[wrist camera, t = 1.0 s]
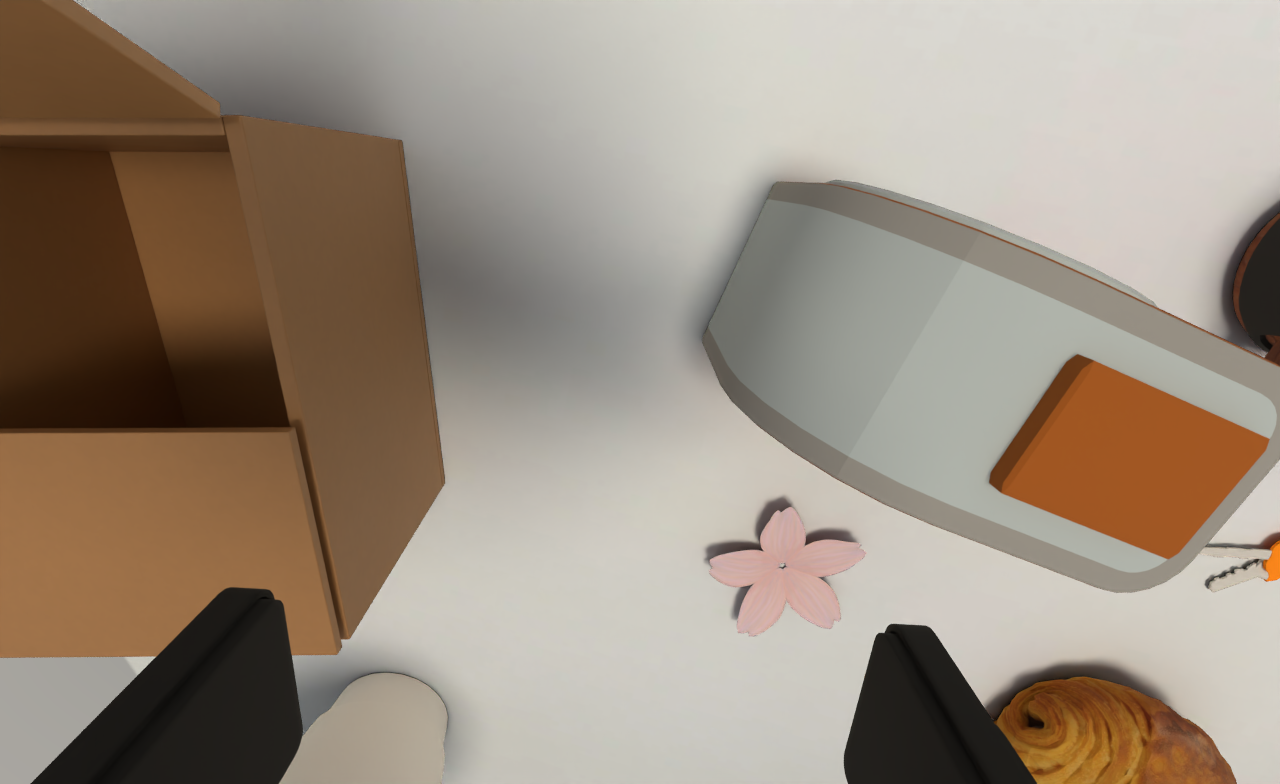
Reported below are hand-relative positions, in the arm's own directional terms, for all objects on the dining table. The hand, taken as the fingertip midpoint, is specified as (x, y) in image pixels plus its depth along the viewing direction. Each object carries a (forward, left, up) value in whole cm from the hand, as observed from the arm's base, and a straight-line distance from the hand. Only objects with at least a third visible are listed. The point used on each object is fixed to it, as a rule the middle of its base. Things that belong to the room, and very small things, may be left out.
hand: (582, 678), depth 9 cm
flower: (+2, +17, -21) cm, 27 cm away
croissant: (-4, +41, -21) cm, 46 cm away
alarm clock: (-10, +8, -21) cm, 25 cm away
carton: (+12, -10, -21) cm, 26 cm away
